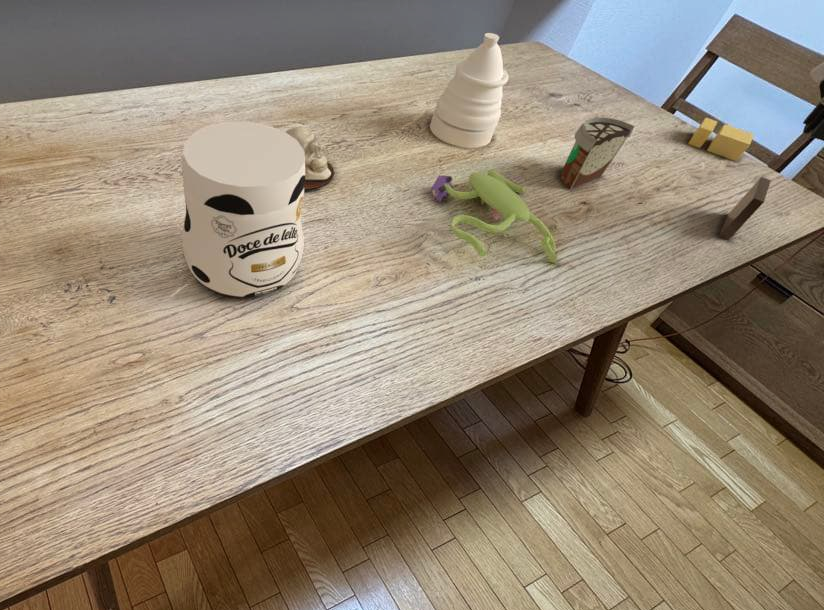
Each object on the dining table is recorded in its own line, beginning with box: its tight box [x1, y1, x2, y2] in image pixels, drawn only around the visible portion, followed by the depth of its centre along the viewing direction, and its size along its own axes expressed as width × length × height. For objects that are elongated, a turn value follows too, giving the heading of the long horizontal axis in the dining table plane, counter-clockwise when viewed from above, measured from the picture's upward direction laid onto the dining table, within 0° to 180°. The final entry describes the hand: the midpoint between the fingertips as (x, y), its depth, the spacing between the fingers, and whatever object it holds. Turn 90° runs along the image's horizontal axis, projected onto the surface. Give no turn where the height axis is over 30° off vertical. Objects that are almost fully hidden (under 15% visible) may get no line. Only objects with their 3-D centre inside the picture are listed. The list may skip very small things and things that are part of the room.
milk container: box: [181, 121, 305, 299], centre depth 70 cm, size 17×17×18 cm
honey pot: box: [429, 32, 509, 149], centre depth 100 cm, size 13×13×18 cm
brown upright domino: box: [718, 176, 772, 241], centre depth 91 cm, size 2×9×8 cm, turn 143°
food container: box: [559, 116, 636, 190], centre depth 96 cm, size 12×6×10 cm, turn 123°
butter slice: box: [687, 117, 718, 149], centre depth 111 cm, size 2×6×4 cm, turn 143°
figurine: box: [431, 169, 558, 265], centre depth 87 cm, size 18×27×6 cm
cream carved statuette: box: [285, 126, 335, 190], centre depth 92 cm, size 12×10×10 cm
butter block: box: [706, 123, 755, 162], centre depth 110 cm, size 6×6×4 cm
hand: (817, 132), depth 80 cm, fingers closed
